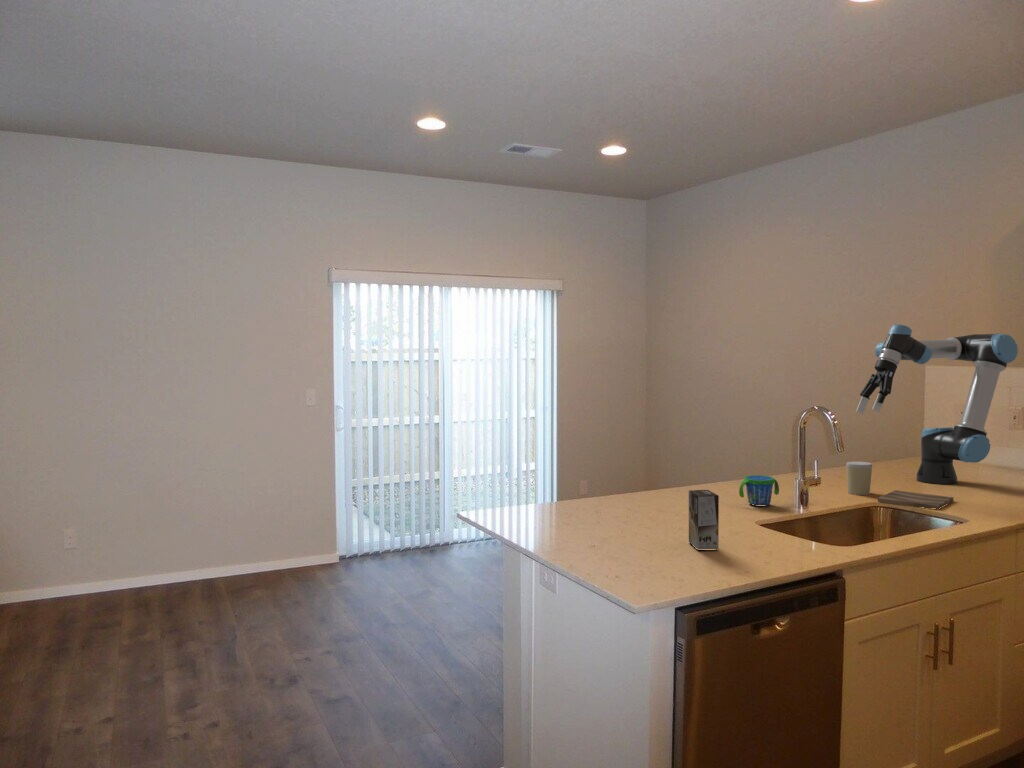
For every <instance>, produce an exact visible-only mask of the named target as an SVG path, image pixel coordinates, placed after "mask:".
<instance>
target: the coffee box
mask: <svg viewBox="0 0 1024 768" xmlns="http://www.w3.org/2000/svg"><path fill="white" fill-rule="evenodd" d="M719 497H720V496H719V495H718V494H716V493H715V492H713V491H711V490H709V489H694V490H693V489H691V490H688V543H689V542H690V543H691V544H693V545H694V546H695V547H696V548H698V549H718V550H719V540H720V539H719V533H720V532H719V522H720V521H719V520H720V519H719V518H720V517H719V515H720V514H719V513H720V512H719V510H720V509H719V508H720V506H719V502H720V500H719V499H720V498H719Z"/></svg>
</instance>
